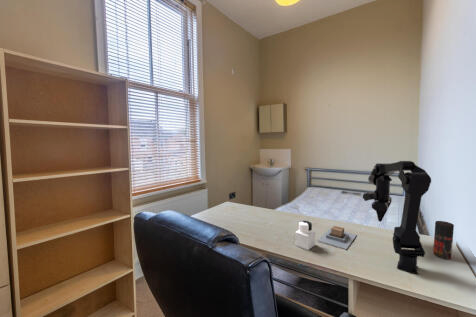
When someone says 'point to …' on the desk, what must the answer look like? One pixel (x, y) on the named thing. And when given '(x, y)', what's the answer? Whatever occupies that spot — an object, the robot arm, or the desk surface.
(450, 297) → the desk surface
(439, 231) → the deodorant
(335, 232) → the walnut block
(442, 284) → the desk surface
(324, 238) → the base
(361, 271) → the desk surface
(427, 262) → the desk surface
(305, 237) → the medicine bottle
